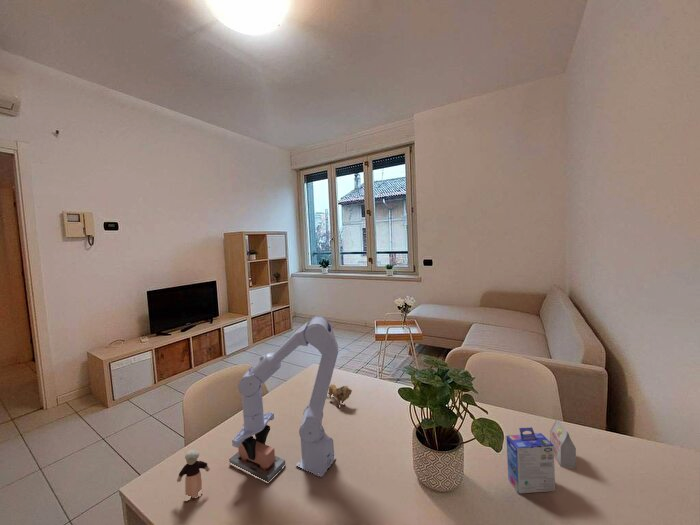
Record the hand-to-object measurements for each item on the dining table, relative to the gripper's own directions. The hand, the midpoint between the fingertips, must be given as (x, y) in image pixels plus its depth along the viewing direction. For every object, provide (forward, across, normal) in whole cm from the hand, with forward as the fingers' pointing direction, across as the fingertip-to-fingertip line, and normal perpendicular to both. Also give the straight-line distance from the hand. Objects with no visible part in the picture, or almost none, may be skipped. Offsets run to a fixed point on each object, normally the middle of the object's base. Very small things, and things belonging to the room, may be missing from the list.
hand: (256, 454), depth 86 cm
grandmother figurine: (+4, +15, -8) cm, 17 cm away
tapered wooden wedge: (+4, 0, 0) cm, 4 cm away
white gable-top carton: (+4, -40, +81) cm, 91 cm away
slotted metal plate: (+4, 0, 0) cm, 4 cm away
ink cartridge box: (+4, -26, +72) cm, 77 cm away
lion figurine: (+4, -39, +6) cm, 40 cm away
